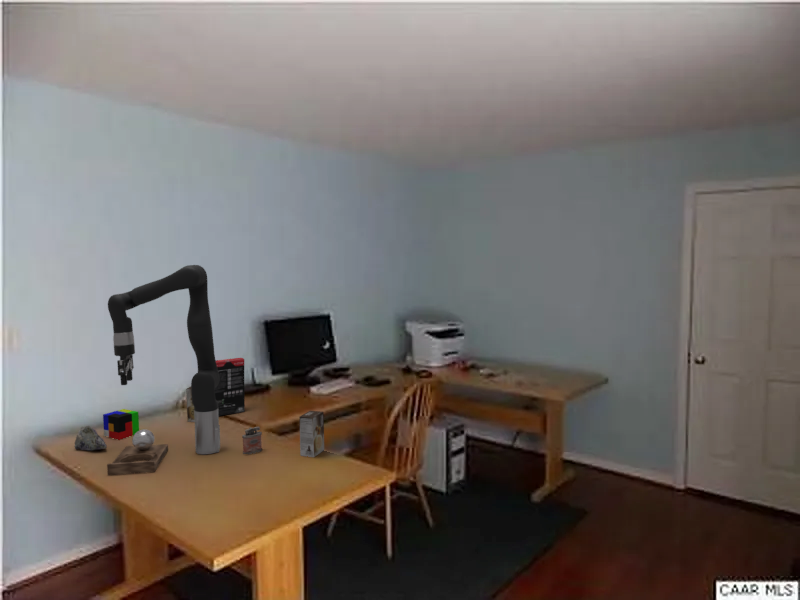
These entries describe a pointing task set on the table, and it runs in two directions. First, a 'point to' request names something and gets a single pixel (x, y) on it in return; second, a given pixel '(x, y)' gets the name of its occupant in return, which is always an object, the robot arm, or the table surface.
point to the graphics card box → (230, 386)
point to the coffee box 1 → (190, 406)
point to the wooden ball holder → (131, 454)
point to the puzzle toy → (121, 423)
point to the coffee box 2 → (311, 433)
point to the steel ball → (143, 439)
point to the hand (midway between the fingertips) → (126, 382)
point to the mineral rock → (89, 439)
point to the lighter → (252, 441)
